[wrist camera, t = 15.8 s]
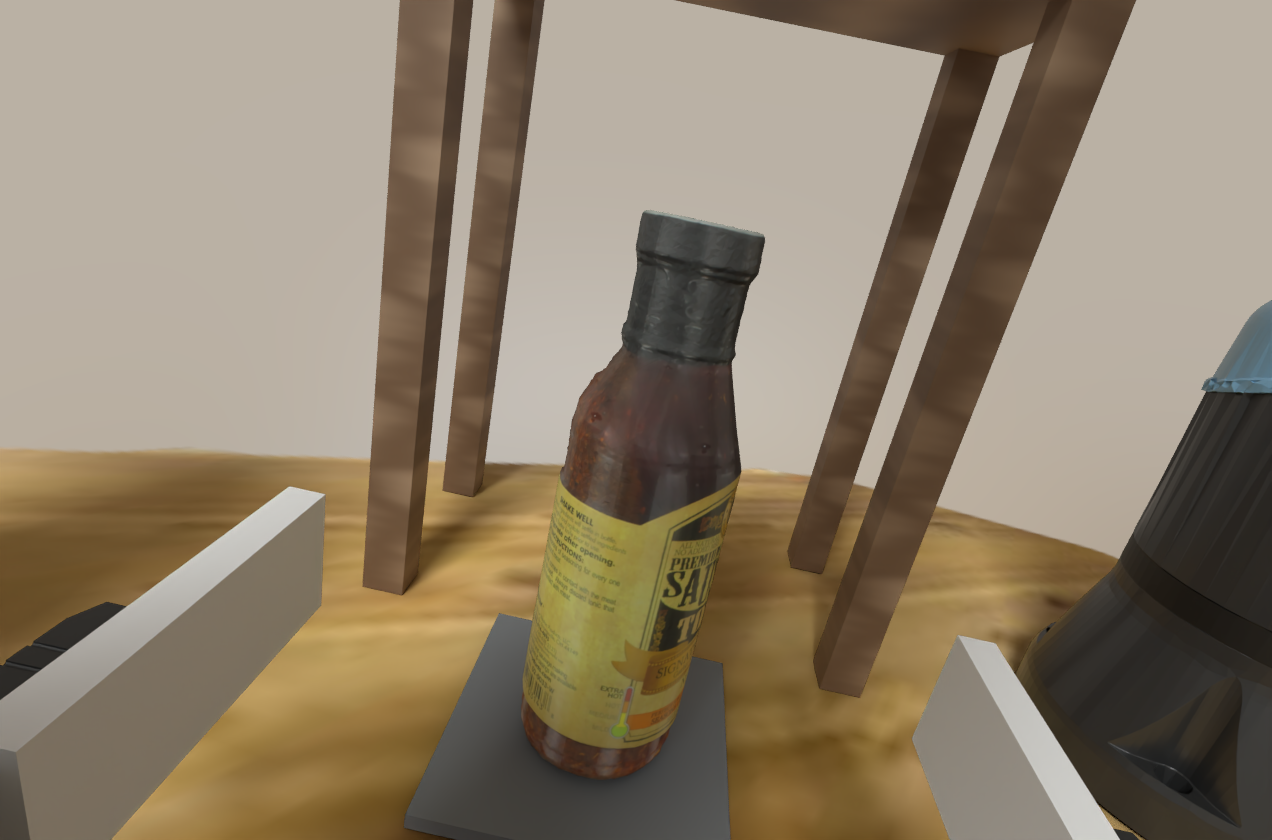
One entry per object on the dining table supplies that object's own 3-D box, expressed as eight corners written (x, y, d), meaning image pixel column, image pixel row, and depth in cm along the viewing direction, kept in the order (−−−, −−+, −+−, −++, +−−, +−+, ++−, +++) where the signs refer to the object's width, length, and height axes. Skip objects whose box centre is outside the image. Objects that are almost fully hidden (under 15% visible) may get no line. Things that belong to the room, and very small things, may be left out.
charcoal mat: (719, 673, 32) (722, 663, 32) (728, 902, 22) (732, 889, 22) (497, 623, 33) (499, 613, 32) (403, 827, 22) (405, 814, 22)
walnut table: (816, 557, 45) (997, 19, 34) (859, 697, 33) (1163, -71, 22) (453, 477, 46) (515, -79, 34) (362, 586, 33) (413, -221, 22)
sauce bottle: (646, 817, 24) (799, 243, 17) (486, 752, 25) (574, 195, 19) (684, 696, 30) (807, 239, 23) (553, 649, 31) (637, 203, 25)
